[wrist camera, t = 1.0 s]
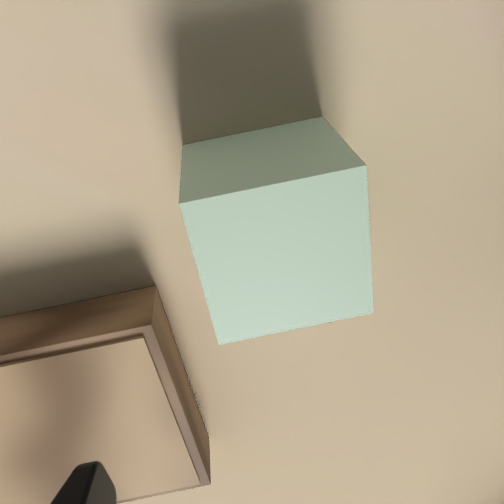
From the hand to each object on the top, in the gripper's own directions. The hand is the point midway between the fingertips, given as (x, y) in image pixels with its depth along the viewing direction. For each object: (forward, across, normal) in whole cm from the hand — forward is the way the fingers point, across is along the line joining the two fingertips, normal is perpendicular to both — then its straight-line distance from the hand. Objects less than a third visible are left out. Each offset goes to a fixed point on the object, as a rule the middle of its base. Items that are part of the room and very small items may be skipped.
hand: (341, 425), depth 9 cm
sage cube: (+11, 0, 0) cm, 11 cm away
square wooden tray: (+10, +10, +8) cm, 17 cm away
